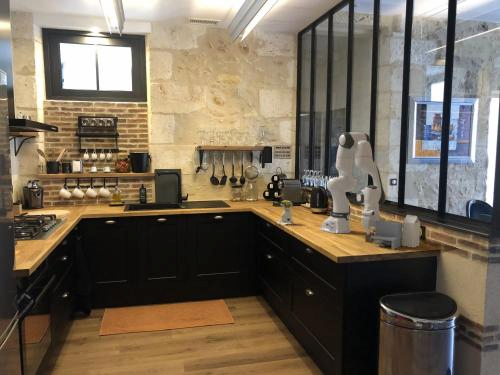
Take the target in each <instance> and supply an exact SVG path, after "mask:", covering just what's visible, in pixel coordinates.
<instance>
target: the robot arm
mask: <svg viewBox="0 0 500 375" xmlns="http://www.w3.org/2000/svg"><path fill="white" fill-rule="evenodd" d="M370 142H371V137H370V135H369V134H367V133H364V132H358V131H355V132H354V131H352V132H348V131H346V132H345V131H344V132H343V133H341V134H340V135H339V138H338V146H337V147H338V148H337V152H336V159H335V160H336V161H335V169H336V170H337V172H338V176H336V177H332V178H330V179H329V180H328V181H327V182H326V187H327V190H328V191H329V192H330V194H331V197H332V203H333V204H332V205H333V206H332V211H330V212H329V214H330V216H329V217H327V218H326V219H325V220H324V221H323V222H322V225H321V227H319V228H318V230H319V231H321V232H325V233H326V232H327V233H331V234H349V233H351V232H352V231H351V226H350V216H351V215H350V214H351V213H350V200H349V199H348V198H347V195H346V193H347V192H351V191H353V190H355V189H356V188H357V181H356V179H355V178H354V175H353V174H354V173H353V160H354V163H355V166H356V168H357V169H358V170H359V171H361V172H363V173H366V174H368V175H369V176H371V178H372V182H373V184H369V185H366V186H365V187H364V188H363V189H361V190H358V192H357V193H356V197H355V198H356V202H357V203H358V204H360V205H364V208H363V210H362V211H361V224H362V227H363V228H364V229H365V231H366V232H367V234H370V232H371V231H370V229H371V227H372V232H374V233H375V231H376V221H379V220H381V214H380V206H381V205H383V204H384V202H385V201H386V198H387V197H386V192H385V190H384V186H383V183H382V178H381V174H380V170H379V167H378V165H376V164H375V162H374V159H373V152H372V151H373V150H372V147H371V146H372V145H371V143H370Z"/></svg>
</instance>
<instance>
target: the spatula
mask: <svg viewBox="0 0 500 375" xmlns="http://www.w3.org/2000/svg"><path fill="white" fill-rule="evenodd" d="M372 235H375V232H373V231H370V234H367V231H366V232H365V242H366V243H368V244H369V243H370V244H372V243H373V244H378V245H380V243H386V244H387V246H390V245H391V247H392V242H386V241H379V239H375V238H371V236H372Z"/></svg>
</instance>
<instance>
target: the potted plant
mask: <svg viewBox="0 0 500 375" xmlns="http://www.w3.org/2000/svg"><path fill="white" fill-rule="evenodd" d="M293 205H294V203H292V201H290V200H287V199H286V200H282V201H280V206H281V207H283V208H284V209H283V211H282V213H281V216H280V219H281V220H280V221H277V225H282V226H286V225H288V226H289V225H294V220H292V219H293V218H292V214H293V213H292V211H291V209H290V208H292V207H293Z"/></svg>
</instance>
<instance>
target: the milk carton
mask: <svg viewBox="0 0 500 375" xmlns="http://www.w3.org/2000/svg"><path fill="white" fill-rule="evenodd" d="M420 234H421V221H420V220H419V218H418V216H417V215H411V214H406V216H405V218H404V220H403V221H402V244H401V246H402V247H406V246H407V247H406V248H410V247H412V248H411V249H414V248H417V247H416V246H418V247H420ZM413 247H414V248H413Z"/></svg>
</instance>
